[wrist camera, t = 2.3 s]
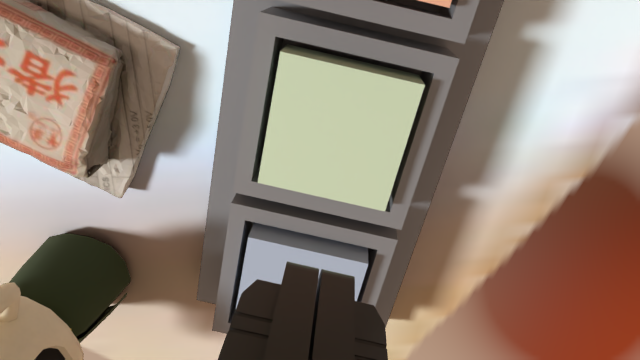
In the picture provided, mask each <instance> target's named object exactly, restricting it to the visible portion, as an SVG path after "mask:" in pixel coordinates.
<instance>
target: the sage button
mask: <svg viewBox="0 0 640 360" xmlns="http://www.w3.org/2000/svg"><path fill="white" fill-rule="evenodd" d="M424 87H425V84H424V83H423V81H422V79H421V78H420V76H419V75H417V74H413V73H409V72H404V71H400V70H396V69H392V68H387V67H383V66H379V65H374V64H370V63H366V62H362V61H357V60H353V59H349V58H344V57H340V56H336V55H331V54H327V53H323V52H319V51H314V50H310V49H306V48H301V47H297V46H293V45H289V44H287V45H286V46H285V47H284V48H283V49H282V50H281V51H280V55H279V61H278V67H277V73H276V79H275V84H274V90H273V96H272V102H271V108H270V113H269V119H268V125H267V131H266V137H265V142H264V148H263V154H262V160H261V165H260V171H259V177H258V183H261V184H265V185H270V186H274V187H278V188H283V189H287V190H292V191H296V192H301V193H305V194H310V195H314V196H318V197H323V198H327V199H332V200H336V201H341V202H345V203H349V204H354V205H358V206H363V207H367V208H372V209H376V210H380V211H385V210H386V207H387V204H388V201H389V197H390V194H391V191H392V188H393V185H394V182H395V178H396V175H397V172H398V169H399V166H400V163H401V159H402V156H403V153H404V150H405V147H406V144H407V140H408V137H409V134H410V131H411V128H412V125H413V121H414V118H415V115H416V112H417V109H418V106H419V102H420V99H421V96H422V93H423V90H424Z"/></svg>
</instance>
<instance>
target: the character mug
mask: <svg viewBox="0 0 640 360" xmlns="http://www.w3.org/2000/svg"><path fill="white" fill-rule="evenodd" d="M130 280H131V277H130V274H129V271H128V268H127V265H126V262H125V261H124V260H123V259H122V258H121V256H120V255H119V254H118V253H117V252H116V251H115V250H114V249H113V247H112V246H110V245H108V244H105V243H103V242H100V241H98V240H96V239H93V238H91V237H88V236H81V235H75V234H69V233H65V234H61V235H56V236H52V237H49V238H48V239H47V240H46V241H45V242H44V243H43V245H42V246H41V247H40V248H39V249H38V250H37V251H36V252H35V253H34V254H33V255H32V256H31V257H30V258H29V260H28V261H27V262H26V263H25V264H24V265H23V266H22V267H21V268H20V270H19V271H18V272H17V273H16V275H15V276H14V277H13V278H12V279H11V281H10V282H9V283H4V284H3V285H1V286H0V360H83V357H84V354H83V351H82V348H81V346H80V342H81V341H82V340H84V339H85V338H86V337H87V336H88V335H89V334H90V333H91V332H92V331H93V330H94V329H95V328H96V327H97V326H98V325H99V324H100V323H101V322H102V321H103V320H104V319H105V318H106V317H107V316H108V315H110V314H111V312H112V311H113V310H114V309H115V308H116V307H117V306H118V305H119V304H120V302H121V301H122V300H123V299H124V298H125V297H126V295H127V293H126V294H125V295H124V296H123V298H122V299H121V300H120V301H119V302H118V303H117V304H116V305H114V306H110V304H111V303H112V302H113V301H114V300H115V299H116V298H117V297H118V295H119V294H120V293H121V292H122V291H123V290H124V289H125V287H126V286H127V285H128V284H129V283H130ZM109 306H110V307H109Z"/></svg>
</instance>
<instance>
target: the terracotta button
mask: <svg viewBox="0 0 640 360" xmlns="http://www.w3.org/2000/svg"><path fill="white" fill-rule="evenodd" d="M418 1H422V2H427V3H431V4H435V5H439V6H443V7H448V8H450V4H451V1H452V0H418Z"/></svg>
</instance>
